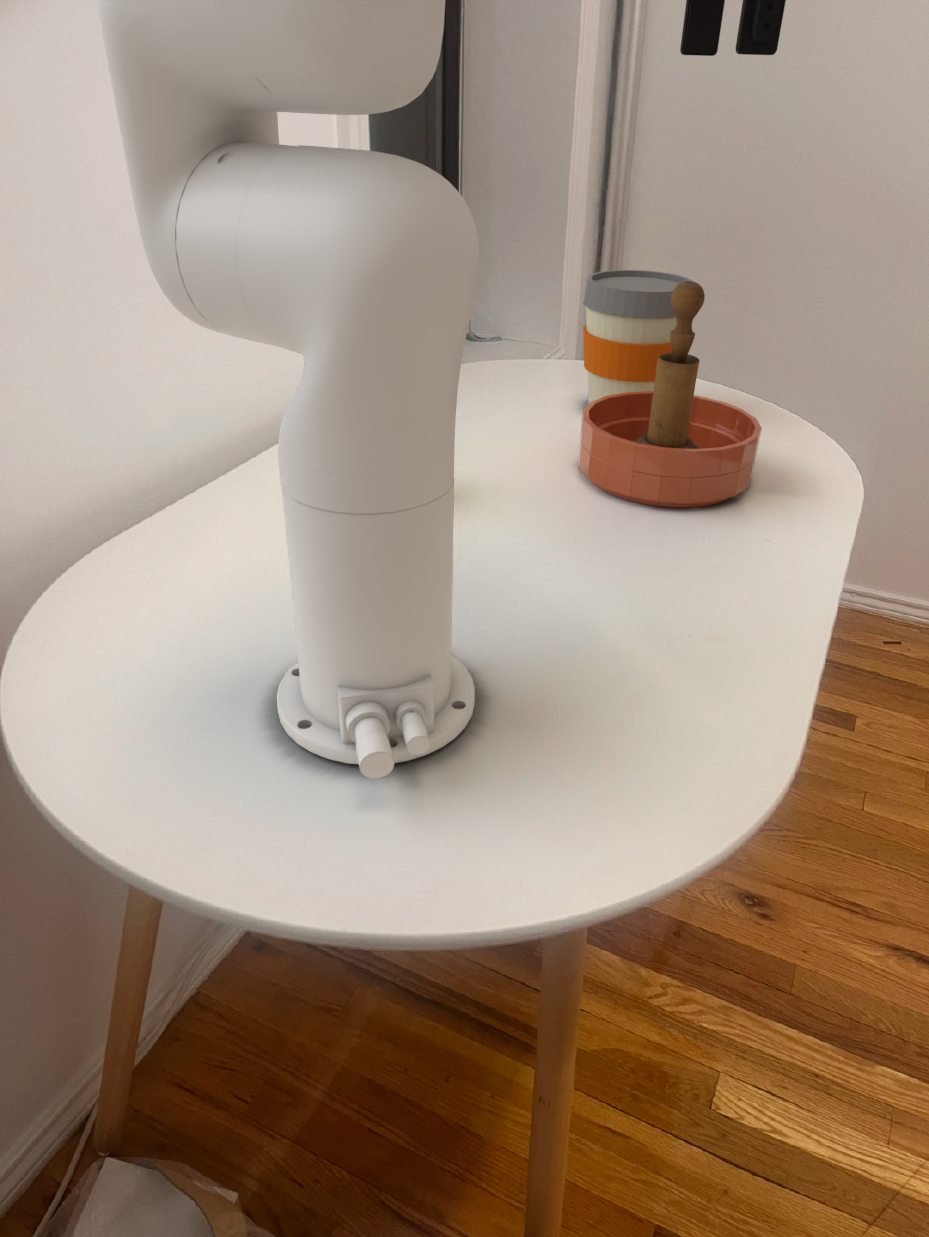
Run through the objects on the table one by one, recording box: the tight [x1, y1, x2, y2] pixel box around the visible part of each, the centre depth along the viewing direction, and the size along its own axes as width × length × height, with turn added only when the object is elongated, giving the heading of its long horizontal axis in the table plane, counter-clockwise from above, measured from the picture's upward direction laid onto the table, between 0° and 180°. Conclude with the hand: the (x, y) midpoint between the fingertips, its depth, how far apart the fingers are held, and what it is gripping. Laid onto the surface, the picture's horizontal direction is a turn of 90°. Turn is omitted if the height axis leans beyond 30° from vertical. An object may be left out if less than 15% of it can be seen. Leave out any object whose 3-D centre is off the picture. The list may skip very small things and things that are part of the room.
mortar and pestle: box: [634, 280, 706, 449], centre depth 85 cm, size 7×6×18 cm
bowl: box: [577, 391, 763, 508], centre depth 89 cm, size 17×17×6 cm
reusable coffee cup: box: [582, 269, 695, 404], centre depth 104 cm, size 13×13×15 cm
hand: (725, 55), depth 71 cm, fingers open, 9 cm apart
